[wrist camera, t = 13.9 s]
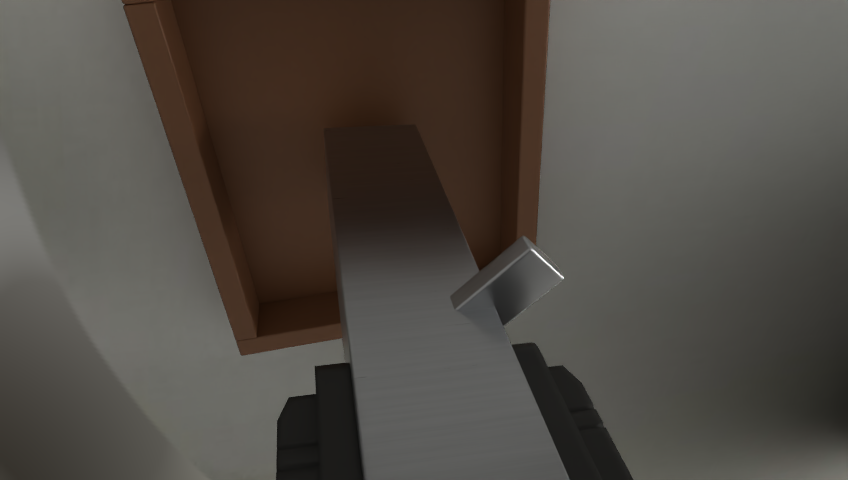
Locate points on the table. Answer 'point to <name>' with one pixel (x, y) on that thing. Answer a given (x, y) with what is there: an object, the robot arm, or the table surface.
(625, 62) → the table surface
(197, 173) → the tray
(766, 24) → the table surface
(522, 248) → the grey square bar
